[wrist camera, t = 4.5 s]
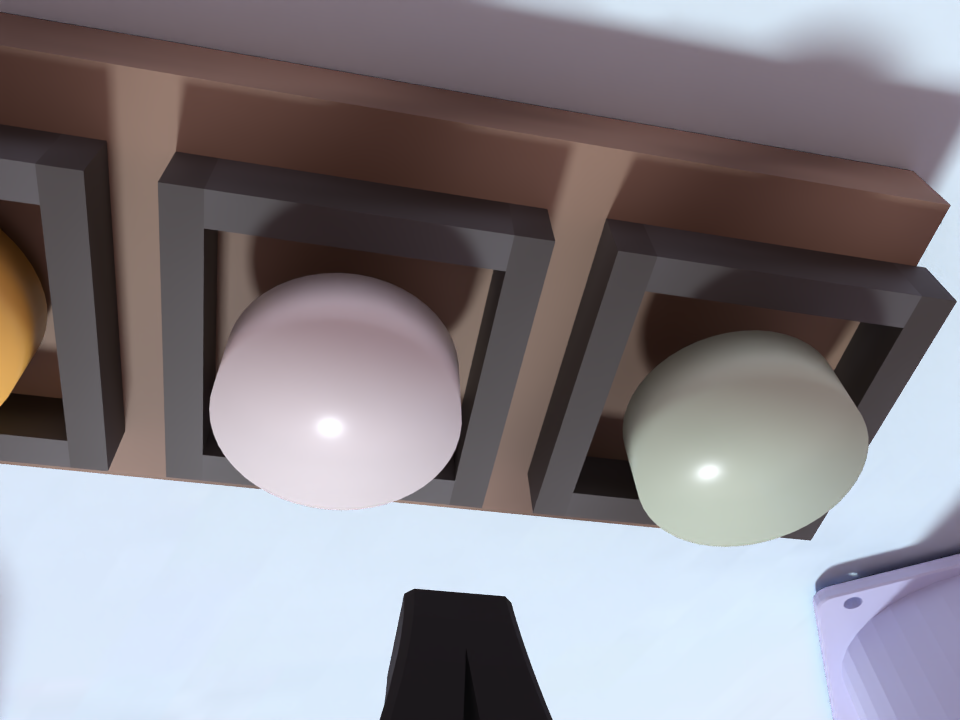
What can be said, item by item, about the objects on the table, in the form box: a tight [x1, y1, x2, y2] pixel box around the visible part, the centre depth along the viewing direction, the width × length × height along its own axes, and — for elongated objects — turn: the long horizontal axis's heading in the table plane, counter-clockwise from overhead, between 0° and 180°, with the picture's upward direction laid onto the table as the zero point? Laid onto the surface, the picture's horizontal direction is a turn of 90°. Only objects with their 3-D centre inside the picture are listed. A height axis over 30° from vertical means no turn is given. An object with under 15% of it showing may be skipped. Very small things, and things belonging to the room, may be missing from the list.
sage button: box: [623, 330, 868, 547], centre depth 16 cm, size 4×4×1 cm
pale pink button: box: [209, 273, 462, 510], centre depth 15 cm, size 4×4×1 cm
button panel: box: [0, 12, 957, 540], centre depth 17 cm, size 21×9×3 cm, turn 79°
